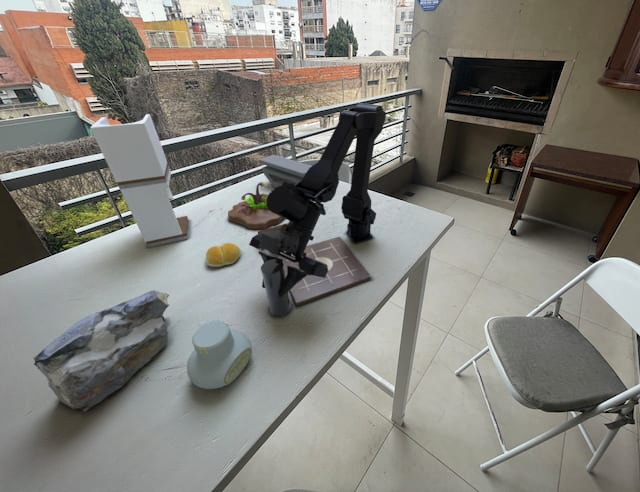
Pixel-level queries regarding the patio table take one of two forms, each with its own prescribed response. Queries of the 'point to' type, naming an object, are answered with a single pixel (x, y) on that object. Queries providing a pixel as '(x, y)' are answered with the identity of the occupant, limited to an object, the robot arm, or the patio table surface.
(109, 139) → the white box tower
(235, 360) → the air freshener
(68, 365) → the fossil rock
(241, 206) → the plant
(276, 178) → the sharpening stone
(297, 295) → the grid board
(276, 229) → the brick
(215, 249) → the bread roll
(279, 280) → the dark gray cylindrical container
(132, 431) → the patio table surface
